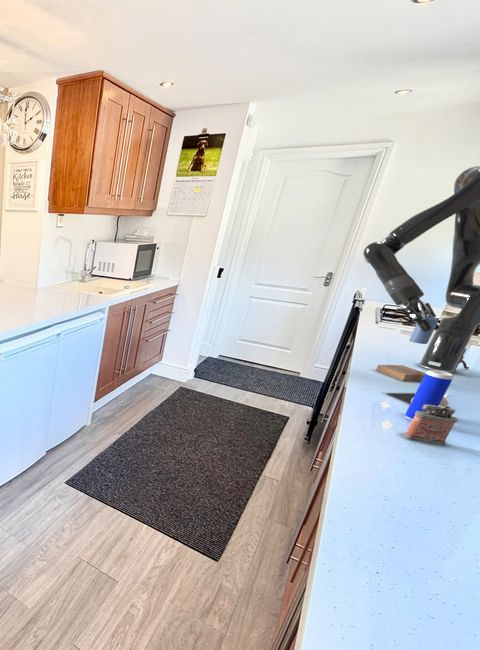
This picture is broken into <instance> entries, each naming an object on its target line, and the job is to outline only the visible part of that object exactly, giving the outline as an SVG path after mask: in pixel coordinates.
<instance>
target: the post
mask: <svg viewBox="0 0 480 650" xmlns="http://www.w3.org/2000/svg"><path fill="white" fill-rule="evenodd" d="M424 317H425V320H426V321H427V322H428V323H429V325H430V326H431V328H432V329H431V330H429V331H426V332H423V331H422V329H421V328H420V327H419V325H418V324H417V323H416V325H415V327H414V329H413V331H412V333H411V335H410V338H409V339H408V341H409V342H411V343H415V344H420V345H427V344H428V343H429V342H430V340H431V337H432V335H433V333H434V331H435V330H434V329H435V327H436V325H437V324H438V323H439V322H440V319H439V318H438V317H437V318H436V317H434V318H433V317H426V316H424Z"/></svg>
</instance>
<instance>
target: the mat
mask: <svg viewBox="0 0 480 650" xmlns="http://www.w3.org/2000/svg"><path fill="white" fill-rule="evenodd" d="M415 394H416V393H413V392H411V393H409V392H408V393H407V392H403V393H401V392H400V393H399V392H397V393H396V392H387V394H386V395H388V396H389V397H392V398H395V399H397V400H400V401H402V402H404V403H406V404H409V405H410V404H411V400H412V398H413V397H414V396H415ZM446 408H450V406H448V405H447V406H446Z"/></svg>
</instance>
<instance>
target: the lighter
mask: <svg viewBox="0 0 480 650" xmlns="http://www.w3.org/2000/svg"><path fill="white" fill-rule="evenodd" d="M422 409H424V410H428V411H427V412H426V411H416V412H415V417H414V419H413V420H411V423H410V424H409V426H408V428H407V430H406V432H404V434H403V437H404V438H406V439H408V440H409V441H410V440H411V441H415V442H420V443H424V444H431V445H432V444H433V445H439V446H444V445H445V444H446V440H447V438H448V437H449V434H450V432H451V431H452V429H453V428H454V426H455V424H456V423H457V422H458V421H459V419H458V418H457V417H456V416H453V415H455V414H456V413H455V412H456V411H457V410H456V409H454V408H450V407H449V408H446V407H444V406H441V405H439V406H434V405H427V404H425V405H423V407H422Z"/></svg>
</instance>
